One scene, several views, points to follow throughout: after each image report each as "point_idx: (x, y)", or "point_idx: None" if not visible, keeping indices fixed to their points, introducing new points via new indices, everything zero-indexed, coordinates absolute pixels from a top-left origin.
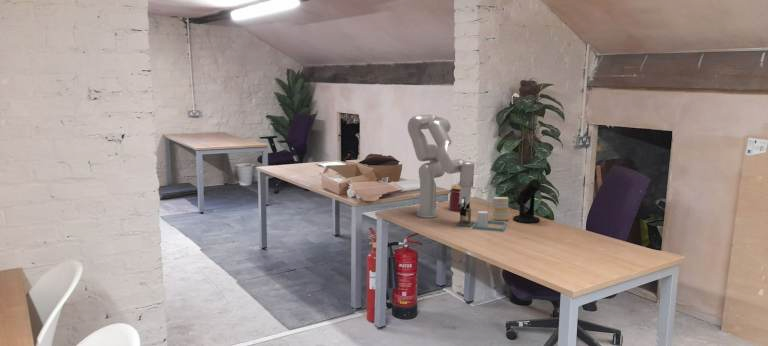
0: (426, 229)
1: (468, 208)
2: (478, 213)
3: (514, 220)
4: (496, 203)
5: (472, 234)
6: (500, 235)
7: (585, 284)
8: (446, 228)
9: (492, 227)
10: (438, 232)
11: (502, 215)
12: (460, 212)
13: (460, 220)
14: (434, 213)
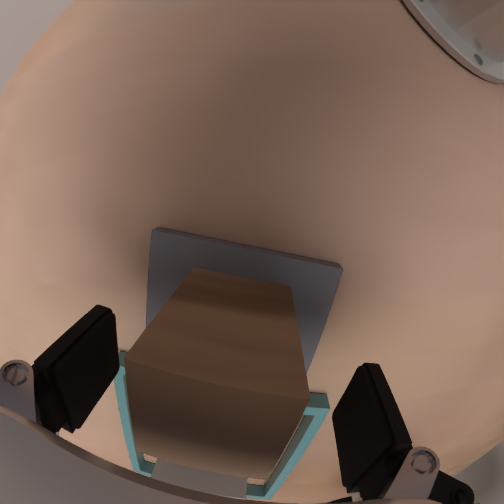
0: (57, 27)
1: (263, 462)
2: (153, 476)
3: (341, 500)
4: None
5: (24, 325)
6: (77, 433)
7: None
8: (74, 144)
9: (134, 448)
10: (6, 118)
11: (359, 497)
12: (76, 329)
13: (184, 282)
14: (468, 35)
